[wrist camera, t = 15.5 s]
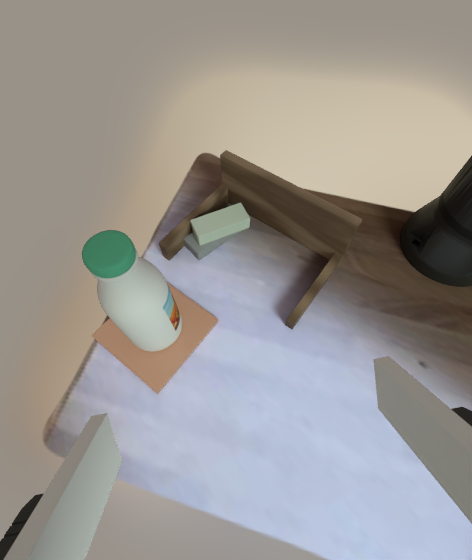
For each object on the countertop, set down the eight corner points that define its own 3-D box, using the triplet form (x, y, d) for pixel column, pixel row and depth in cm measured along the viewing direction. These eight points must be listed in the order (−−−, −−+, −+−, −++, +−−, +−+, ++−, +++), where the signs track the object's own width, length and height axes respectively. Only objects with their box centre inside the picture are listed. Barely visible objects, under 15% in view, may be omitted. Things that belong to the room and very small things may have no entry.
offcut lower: (233, 214, 58) (233, 205, 56) (248, 227, 56) (248, 218, 54) (185, 247, 55) (183, 238, 52) (199, 261, 53) (197, 253, 51)
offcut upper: (240, 212, 55) (240, 202, 53) (249, 227, 53) (250, 217, 51) (192, 229, 53) (190, 220, 51) (199, 245, 52) (198, 236, 49)
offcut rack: (228, 194, 60) (226, 150, 51) (342, 258, 52) (362, 219, 44) (164, 257, 53) (149, 217, 44) (284, 340, 46) (295, 312, 37)
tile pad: (155, 276, 51) (154, 273, 50) (218, 321, 47) (218, 319, 47) (93, 337, 46) (91, 335, 45) (157, 393, 42) (156, 392, 42)
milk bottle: (173, 358, 44) (130, 293, 26) (121, 346, 45) (45, 276, 27) (189, 308, 47) (160, 222, 30) (141, 298, 48) (85, 209, 31)
